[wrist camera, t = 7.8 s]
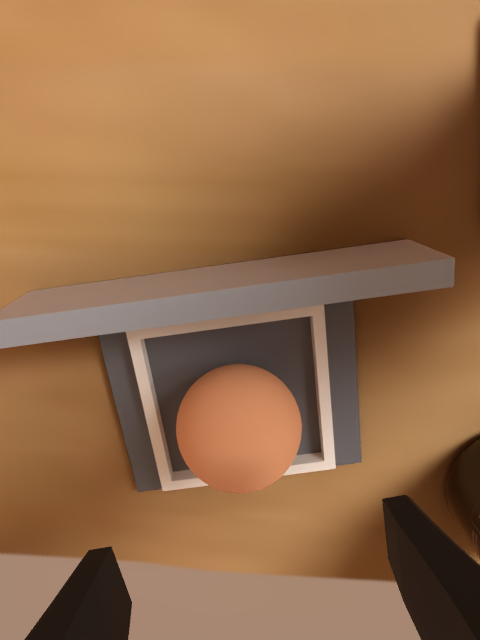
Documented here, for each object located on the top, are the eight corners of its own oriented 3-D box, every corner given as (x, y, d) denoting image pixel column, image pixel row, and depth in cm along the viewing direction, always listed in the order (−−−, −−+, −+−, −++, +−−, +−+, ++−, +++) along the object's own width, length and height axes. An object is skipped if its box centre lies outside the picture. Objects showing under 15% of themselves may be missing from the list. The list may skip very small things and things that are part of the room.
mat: (350, 282, 19) (357, 288, 18) (359, 457, 22) (365, 471, 21) (96, 316, 19) (89, 325, 18) (139, 486, 22) (135, 502, 21)
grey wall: (408, 239, 19) (455, 257, 15) (408, 262, 19) (454, 286, 15) (29, 291, 19) (-21, 322, 15) (35, 313, 19) (-11, 350, 15)
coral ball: (281, 334, 19) (301, 390, 15) (299, 431, 21) (322, 509, 16) (169, 357, 19) (152, 419, 15) (195, 451, 21) (188, 534, 16)
